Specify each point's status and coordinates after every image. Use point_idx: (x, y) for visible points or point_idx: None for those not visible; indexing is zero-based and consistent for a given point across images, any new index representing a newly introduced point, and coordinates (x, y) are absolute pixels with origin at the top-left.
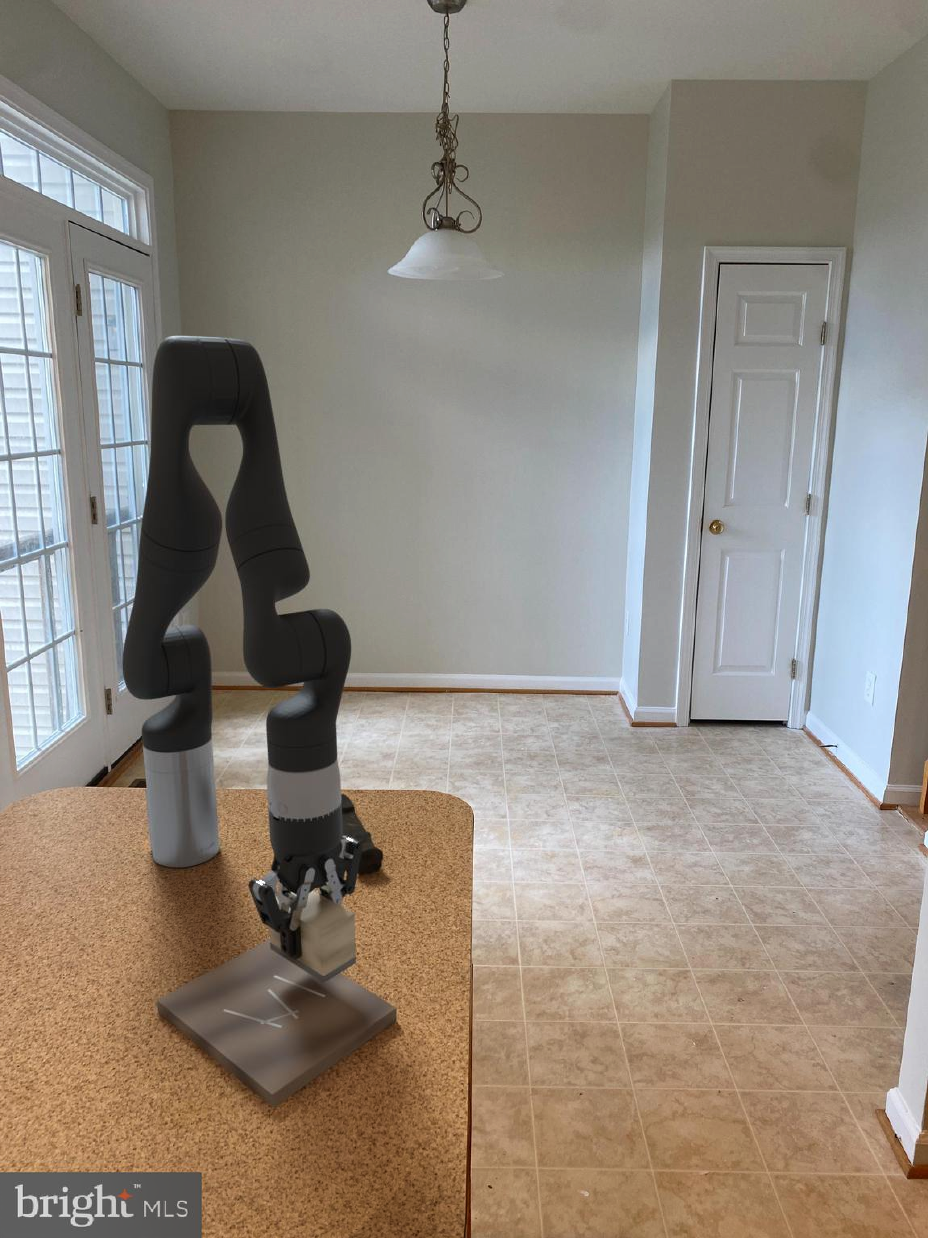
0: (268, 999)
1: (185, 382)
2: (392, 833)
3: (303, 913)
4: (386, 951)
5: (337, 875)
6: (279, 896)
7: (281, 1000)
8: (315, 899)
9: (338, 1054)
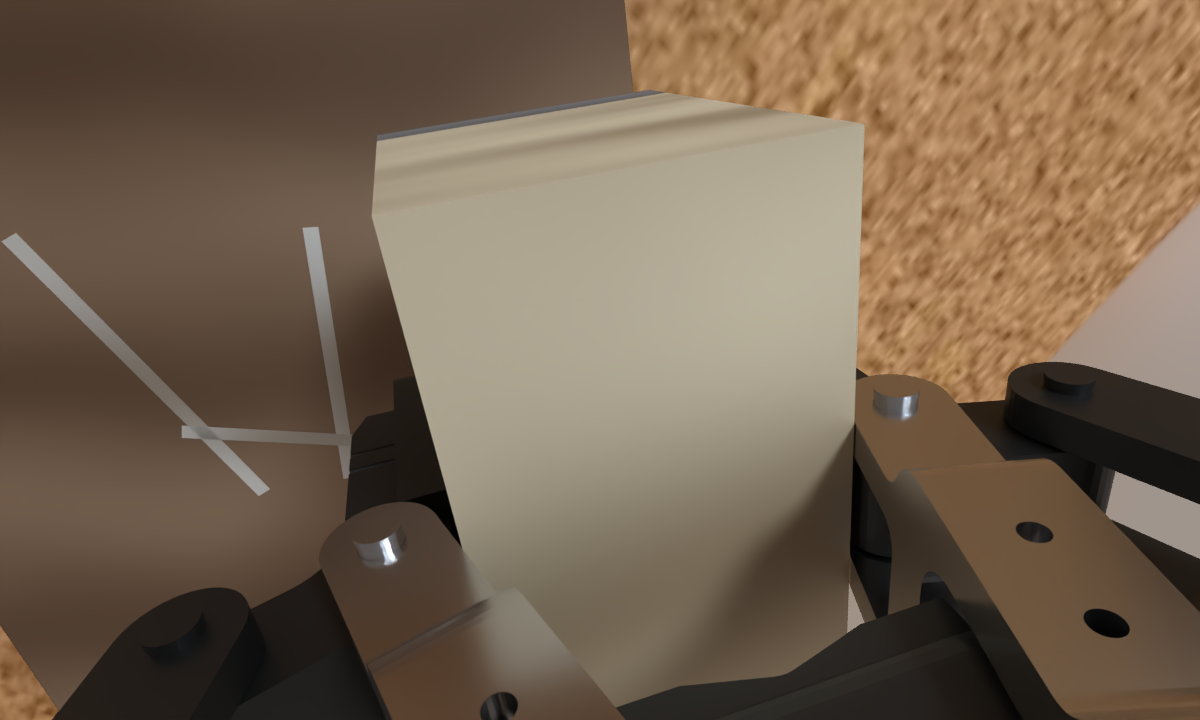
0: (279, 299)
1: None
2: None
3: (572, 629)
4: (892, 215)
5: (1132, 465)
6: (387, 715)
7: (336, 338)
8: (776, 489)
9: None
